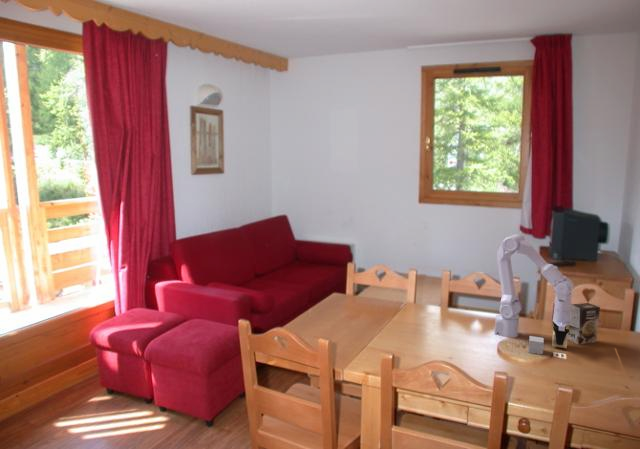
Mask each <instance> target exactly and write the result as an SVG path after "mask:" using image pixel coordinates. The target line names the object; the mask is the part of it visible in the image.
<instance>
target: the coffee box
mask: <svg viewBox="0 0 640 449" xmlns="http://www.w3.org/2000/svg"><path fill="white" fill-rule="evenodd" d="M600 310H601V307H600V306H598V305H596V304H593V303H590V302H582V303H574V304H573V303H571V309H570V320H571V321H573V324H568V329H569V332H568V334H567V335H568V339H567V340H569V341H572V342H574V344H575V343H576V344H577V345H583V344H591V343H597V339H598V338H597V337H598V329H599V319H600Z"/></svg>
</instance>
